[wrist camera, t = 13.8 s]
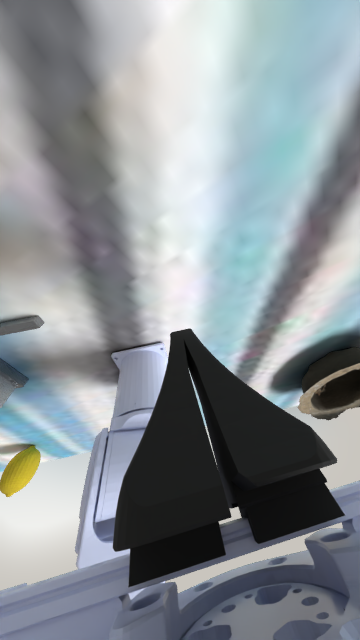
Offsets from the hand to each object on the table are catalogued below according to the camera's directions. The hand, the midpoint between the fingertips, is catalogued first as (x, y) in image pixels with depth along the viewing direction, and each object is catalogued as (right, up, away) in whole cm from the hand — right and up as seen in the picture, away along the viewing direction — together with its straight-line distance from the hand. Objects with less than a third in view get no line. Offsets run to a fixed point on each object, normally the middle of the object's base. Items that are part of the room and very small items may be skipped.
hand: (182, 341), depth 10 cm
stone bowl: (+39, -11, +30) cm, 50 cm away
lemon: (-35, -28, +25) cm, 52 cm away
